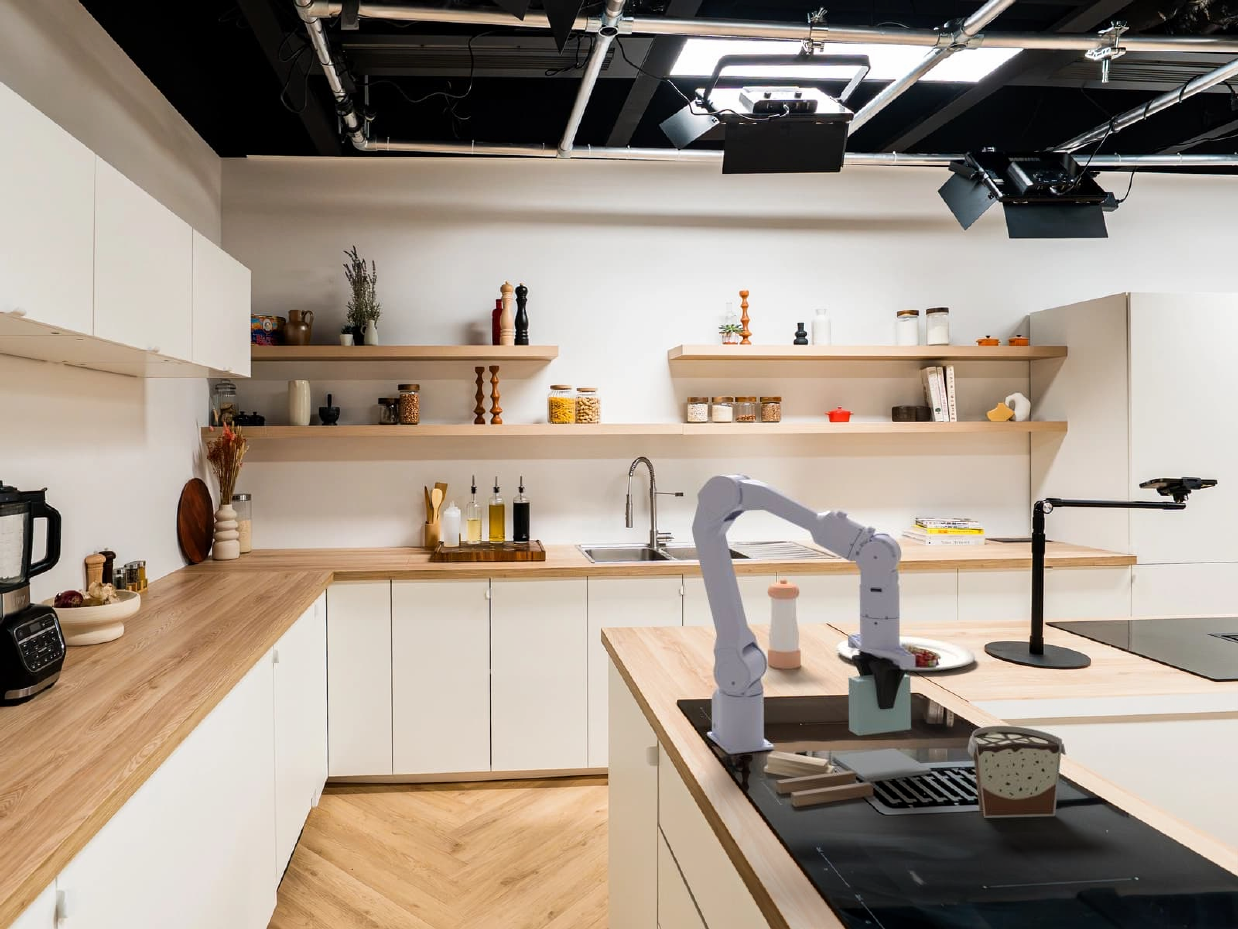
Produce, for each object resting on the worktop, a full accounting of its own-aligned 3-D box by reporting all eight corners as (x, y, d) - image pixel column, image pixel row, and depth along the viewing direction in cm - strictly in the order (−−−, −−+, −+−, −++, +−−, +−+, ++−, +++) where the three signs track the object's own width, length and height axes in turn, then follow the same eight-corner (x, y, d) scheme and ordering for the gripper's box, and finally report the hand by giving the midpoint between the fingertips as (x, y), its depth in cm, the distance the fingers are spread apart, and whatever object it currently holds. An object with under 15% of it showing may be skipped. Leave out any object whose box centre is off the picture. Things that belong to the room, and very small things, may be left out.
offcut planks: (770, 767, 123) (769, 749, 123) (836, 779, 119) (835, 760, 119) (763, 774, 121) (763, 756, 121) (831, 786, 116) (831, 767, 116)
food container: (1040, 795, 111) (1039, 723, 111) (1066, 815, 105) (1065, 739, 105) (951, 798, 111) (951, 725, 111) (972, 818, 105) (972, 741, 105)
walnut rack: (776, 791, 114) (776, 780, 114) (851, 780, 117) (851, 770, 117) (794, 806, 109) (794, 795, 109) (873, 795, 112) (872, 784, 112)
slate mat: (832, 760, 125) (832, 756, 125) (894, 752, 128) (894, 748, 128) (865, 782, 116) (865, 778, 116) (931, 773, 119) (931, 769, 119)
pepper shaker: (798, 660, 185) (797, 577, 185) (802, 669, 178) (801, 582, 178) (766, 660, 186) (765, 577, 186) (769, 668, 178) (768, 582, 178)
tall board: (849, 730, 122) (848, 677, 122) (900, 724, 125) (900, 672, 124) (858, 735, 120) (857, 681, 120) (910, 729, 122) (910, 676, 122)
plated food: (892, 638, 208) (892, 625, 208) (1002, 662, 182) (1002, 647, 182) (809, 655, 191) (809, 640, 191) (918, 684, 166) (918, 668, 166)
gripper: (933, 623, 116) (934, 717, 116) (874, 605, 130) (875, 689, 130) (890, 626, 114) (891, 722, 114) (835, 608, 128) (836, 693, 128)
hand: (880, 705), depth 122 cm, fingers closed on tall board, 2 cm apart
